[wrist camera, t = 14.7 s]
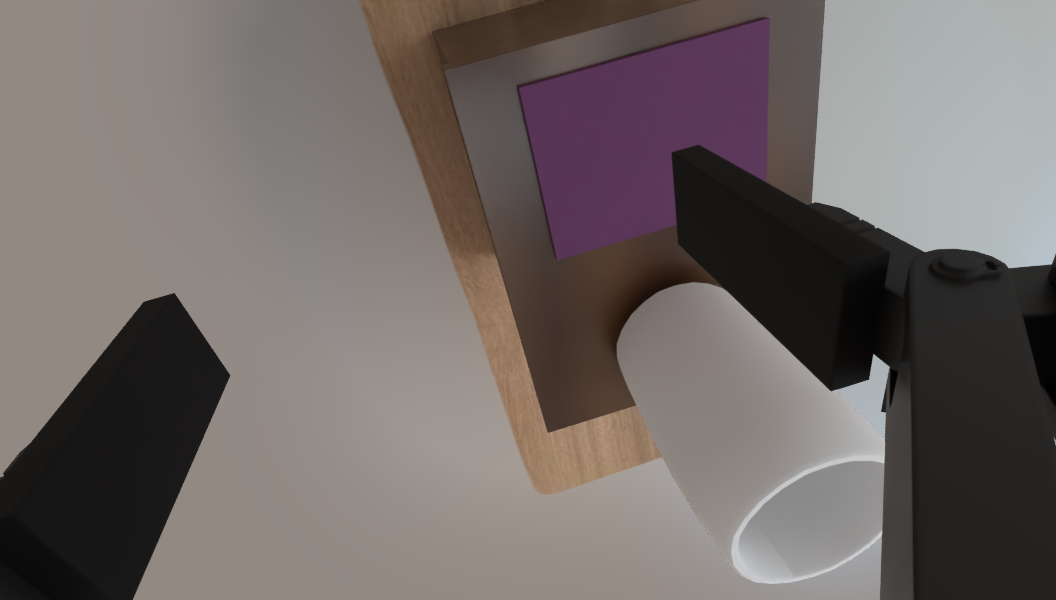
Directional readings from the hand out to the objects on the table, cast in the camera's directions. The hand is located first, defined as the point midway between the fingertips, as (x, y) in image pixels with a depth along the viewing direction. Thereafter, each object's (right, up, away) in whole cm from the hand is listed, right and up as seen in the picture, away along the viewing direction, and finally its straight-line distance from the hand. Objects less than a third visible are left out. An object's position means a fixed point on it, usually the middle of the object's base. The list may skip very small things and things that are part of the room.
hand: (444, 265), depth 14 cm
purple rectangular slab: (+8, +7, +13) cm, 17 cm away
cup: (+11, -3, +19) cm, 22 cm away
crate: (+5, +15, +38) cm, 41 cm away
